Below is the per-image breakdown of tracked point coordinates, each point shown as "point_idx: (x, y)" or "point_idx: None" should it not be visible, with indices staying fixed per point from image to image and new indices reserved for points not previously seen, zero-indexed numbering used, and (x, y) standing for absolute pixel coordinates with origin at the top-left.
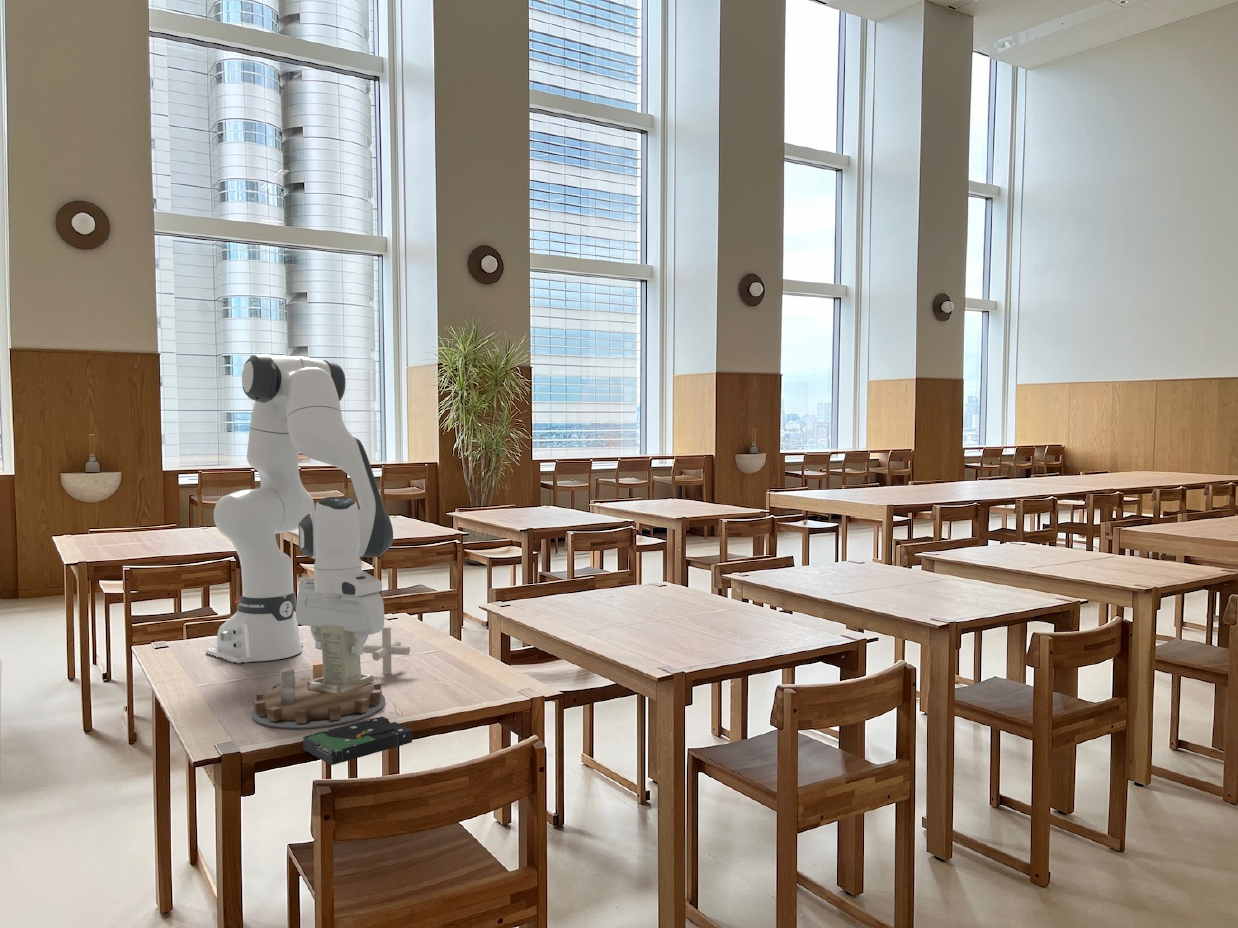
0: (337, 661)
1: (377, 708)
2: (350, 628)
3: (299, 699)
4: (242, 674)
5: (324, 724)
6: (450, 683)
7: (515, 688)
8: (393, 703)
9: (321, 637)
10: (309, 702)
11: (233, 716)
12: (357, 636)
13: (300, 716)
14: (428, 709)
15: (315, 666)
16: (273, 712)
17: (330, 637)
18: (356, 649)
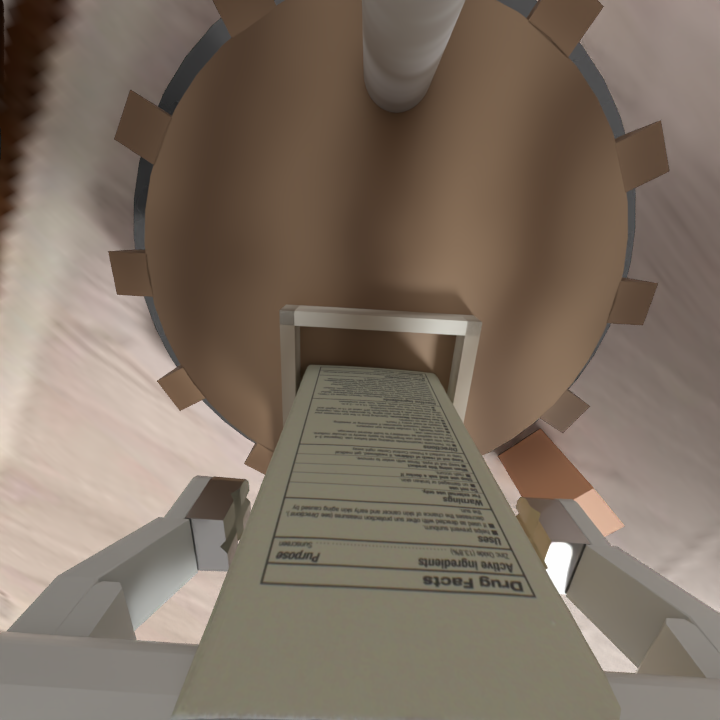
0: (340, 422)
1: (158, 330)
2: (40, 688)
3: (389, 156)
4: None
5: (172, 79)
6: (198, 589)
7: (27, 606)
8: (191, 412)
9: (589, 593)
10: (306, 135)
11: (663, 17)
12: (78, 598)
13: None
14: (52, 406)
15: (578, 488)
16: None
17: (411, 551)
18: (181, 501)
